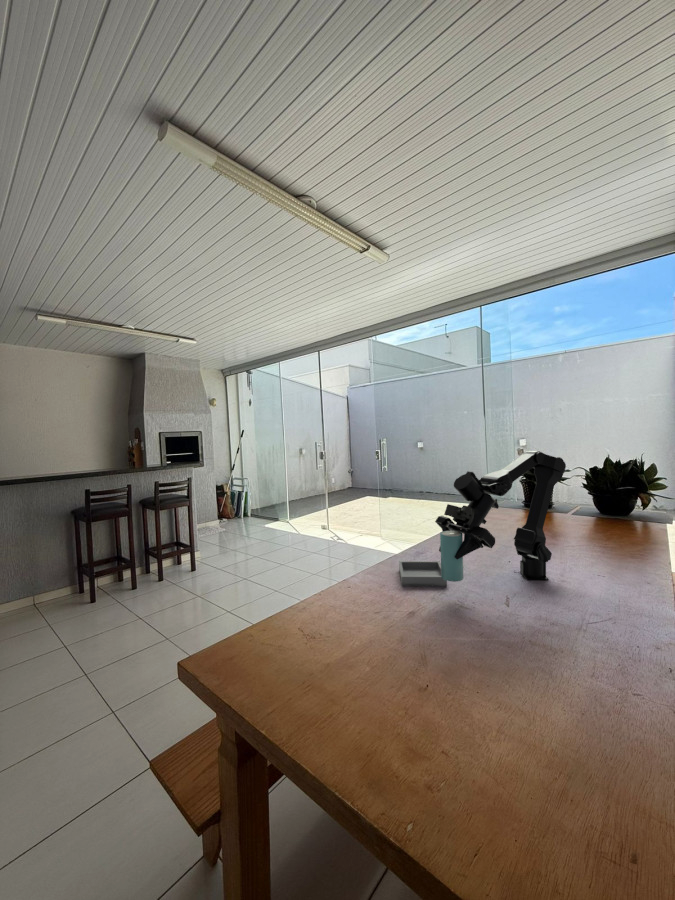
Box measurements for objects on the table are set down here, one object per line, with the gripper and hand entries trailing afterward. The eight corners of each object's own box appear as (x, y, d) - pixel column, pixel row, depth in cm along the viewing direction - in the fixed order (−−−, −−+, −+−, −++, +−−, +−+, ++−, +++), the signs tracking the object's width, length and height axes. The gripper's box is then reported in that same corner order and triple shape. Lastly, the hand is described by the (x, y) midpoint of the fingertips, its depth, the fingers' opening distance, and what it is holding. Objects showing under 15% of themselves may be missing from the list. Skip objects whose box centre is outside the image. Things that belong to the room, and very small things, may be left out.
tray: (439, 569, 131) (439, 561, 131) (447, 586, 118) (446, 576, 118) (399, 569, 133) (399, 561, 133) (401, 586, 119) (401, 576, 119)
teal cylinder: (460, 573, 112) (460, 530, 111) (465, 581, 106) (464, 536, 105) (439, 573, 112) (438, 530, 112) (443, 581, 106) (441, 536, 106)
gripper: (439, 489, 118) (410, 530, 114) (486, 498, 101) (454, 547, 97) (459, 511, 122) (432, 552, 118) (508, 524, 105) (479, 572, 101)
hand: (447, 555), depth 108 cm, fingers closed on teal cylinder, 6 cm apart
